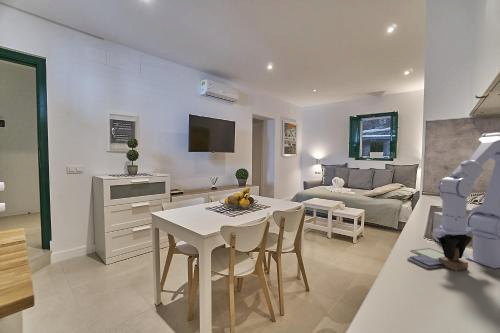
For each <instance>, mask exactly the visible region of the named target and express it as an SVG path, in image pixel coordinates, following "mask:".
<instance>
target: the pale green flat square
mask: <svg viewBox="0 0 500 333" xmlns="http://www.w3.org/2000/svg"><path fill="white" fill-rule="evenodd" d="M410 252H411V253H414V254H416V255H417V256H420V255H424V256H426V257H429V258H431V259H433V260H436V261H438V262H439V257H445V256H444V252H441V251H439V250H437V249H436V250H435V249H434V248H430V247H427V248H419V249H418V248H417V249H411V250H410Z"/></svg>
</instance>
